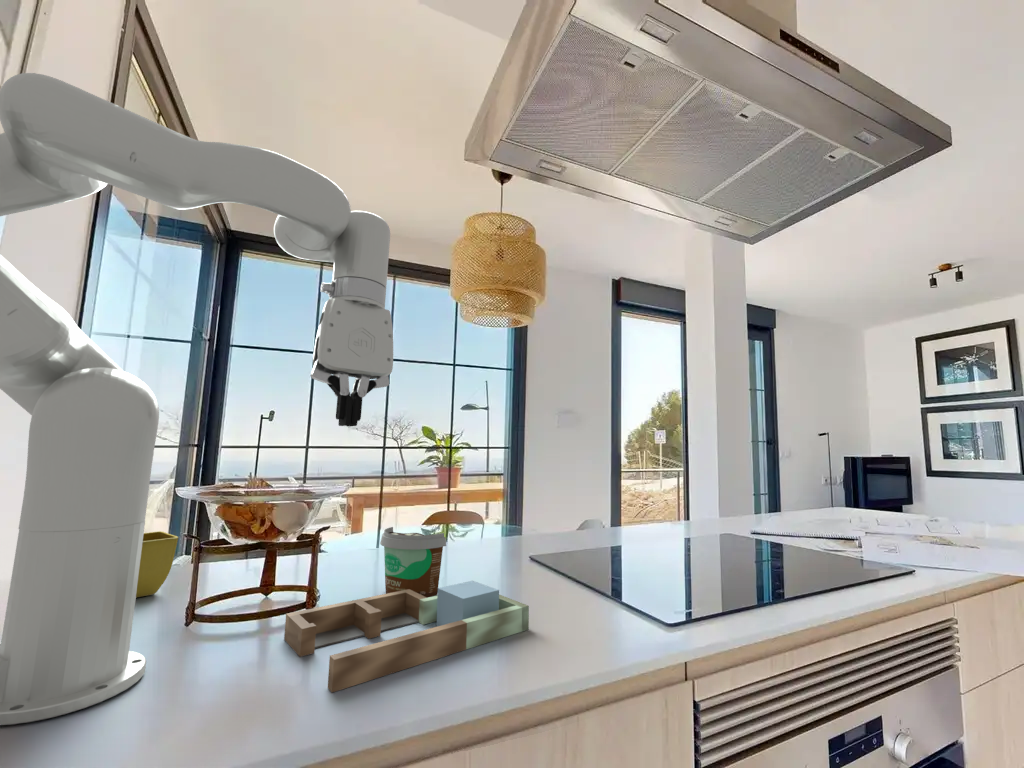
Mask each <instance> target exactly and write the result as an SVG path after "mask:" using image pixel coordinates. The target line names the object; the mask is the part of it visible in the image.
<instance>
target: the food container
mask: <svg viewBox="0 0 1024 768" xmlns="http://www.w3.org/2000/svg"><path fill="white" fill-rule="evenodd" d="M379 545H381V546H383V547H384V548H383V551H384V552H383V555H384V583H385V588H384V589H385V594H387V593H392V592H397V591H402V590H407V589H410V590H412V591H414V592H416V593H418V594H421V595H423V596H425V597H427V598H428V597H433V596H437V595H438V588H439V584H440V574H441V566H442V557H443V549H444V547H447V540H446V536H445V532H442V533H435V534H423V533H420V532H409V533H408V532H407V533H406V532H405V533H403V532H394V527H393V526H389V527H388V528H387V527H386V528H385V529H383V533H382V534H381V539H380V543H379Z"/></svg>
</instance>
